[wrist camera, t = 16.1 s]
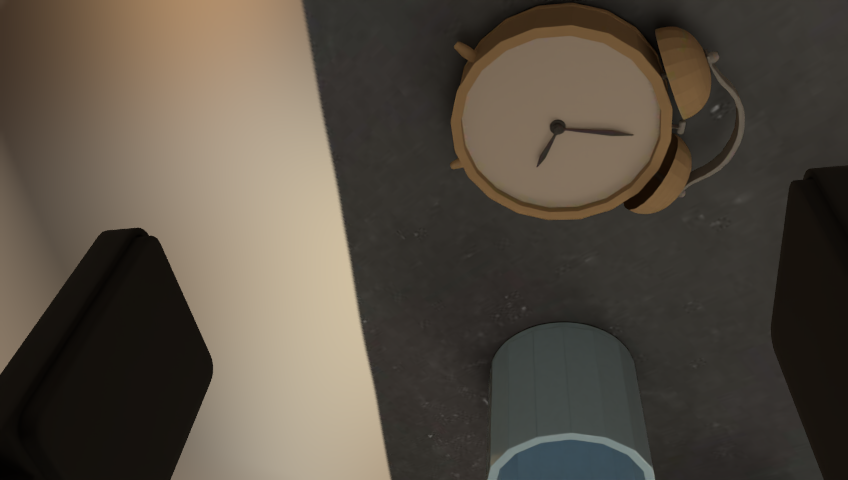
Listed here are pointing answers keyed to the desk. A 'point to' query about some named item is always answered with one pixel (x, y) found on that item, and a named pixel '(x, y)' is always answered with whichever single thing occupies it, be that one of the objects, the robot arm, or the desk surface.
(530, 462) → the cup
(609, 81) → the alarm clock
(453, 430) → the desk surface
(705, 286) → the desk surface
